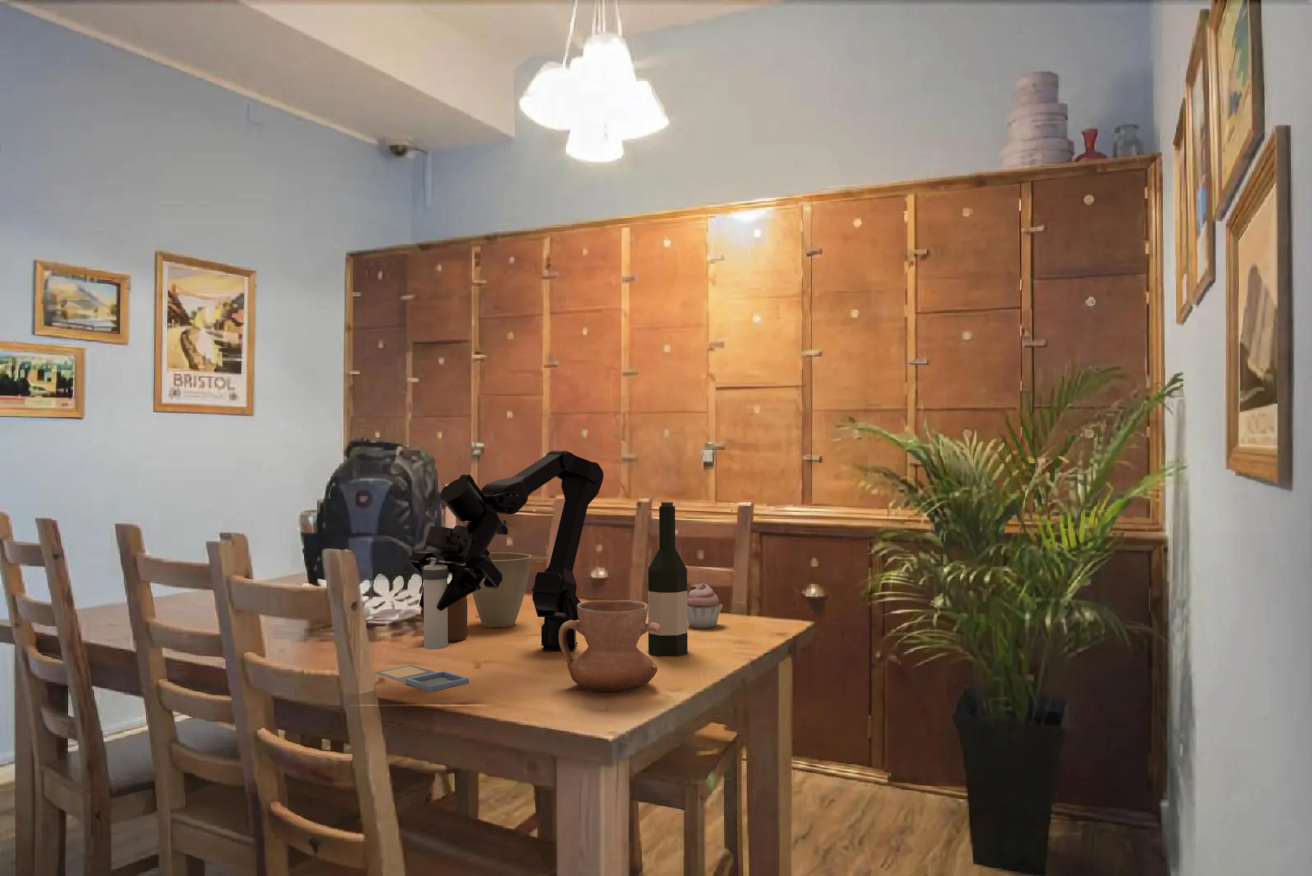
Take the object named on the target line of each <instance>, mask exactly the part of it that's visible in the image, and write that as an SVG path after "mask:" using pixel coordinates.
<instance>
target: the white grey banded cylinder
mask: <svg viewBox="0 0 1312 876" xmlns="http://www.w3.org/2000/svg"><path fill="white" fill-rule="evenodd" d="M449 576H450V574H448V567H447V565H427V566H424V568H423V569H422V577H421V578H422V580H423V586H424V621H423V648H424V649H426V650H443V649H446V648H448V646H449V642H448V607H447V608H445V609H444V610H442V611H439V610H438V609H437V605H438V603H439V601H440V599H441V597H442V595H443V594H444V592H445V590H446V588H447V587H448V586H447V584H448V579H449V578H450V577H449Z"/></svg>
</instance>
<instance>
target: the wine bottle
mask: <svg viewBox="0 0 1312 876" xmlns="http://www.w3.org/2000/svg"><path fill="white" fill-rule="evenodd" d="M658 526H659V527H658V529H659V530H658V531H659V532H658V534H659V537H658V550H657V551H656V553H655V554H654V557H653V558H652V560H651V562H650V563H649V564H648V566H647V605H648V612H647V624H648V623H652V622H653V623H657V624H659V625H660V626H661V628H660V629H659V630H658V633H657V632H655V631H648V632H647V634H648V635H647V636H648V637H647V638H648V639H647V642H648V643H647V644H648V647H647V648H648V655H650V656H655V657H659V656H677V657H680V656H684V655H685V656H686V655H688V654H689V653H688V651H689V650H688V641H689V640H688V639H689V638H688V637H689V636H688V620H687V598H688V568H687V567H686V565H685V563H684V562H683V560H682V558H681V556H680V554H679V552H678V550H677V549H676V506H675V505H674V502H673V501H661V502H660V505H659V506H658Z"/></svg>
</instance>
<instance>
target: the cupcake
mask: <svg viewBox="0 0 1312 876" xmlns="http://www.w3.org/2000/svg"><path fill="white" fill-rule="evenodd" d="M723 606H724V605H723V604H722V603H719V598H718V595H717V594H716V593H715V592H714V589H712V587H711V586H710V585H708V584H707V583H704V582H701V583H699V584H698V585H697V586H696V587H695V589H691V590H690V591H689V592H688V593H687V625H689V627H691V628H693V629H712V627H713V628H715V627H717V624H718V619H719V616H720V613H721V610H722V608H723Z"/></svg>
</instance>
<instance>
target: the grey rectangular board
mask: <svg viewBox="0 0 1312 876" xmlns="http://www.w3.org/2000/svg"><path fill="white" fill-rule="evenodd" d="M374 672H375V673H374V674H375V675H377V676H378V675H379V676H382V677H384V678H387V679H391V680H394V681H396V682H399V683H401V684H405V685H407V686H411V687H414V688H417V689H420V690H423V691H426V692H429V693H431V692H436V691H440V690H444V689H449V688H454V687H458V686H463V685H466V684H467V685H468V684H470V677H466V676H464V675H460V674H456V673H453V672H449V671H445V670H441V671H433V670H430V669H427V668H423V667H420V666H417V665H413V664H409V665H405V666H400V667H399V666H398V667H394V668H390V669H385V670H384V669H383V670H380V671H374Z"/></svg>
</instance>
